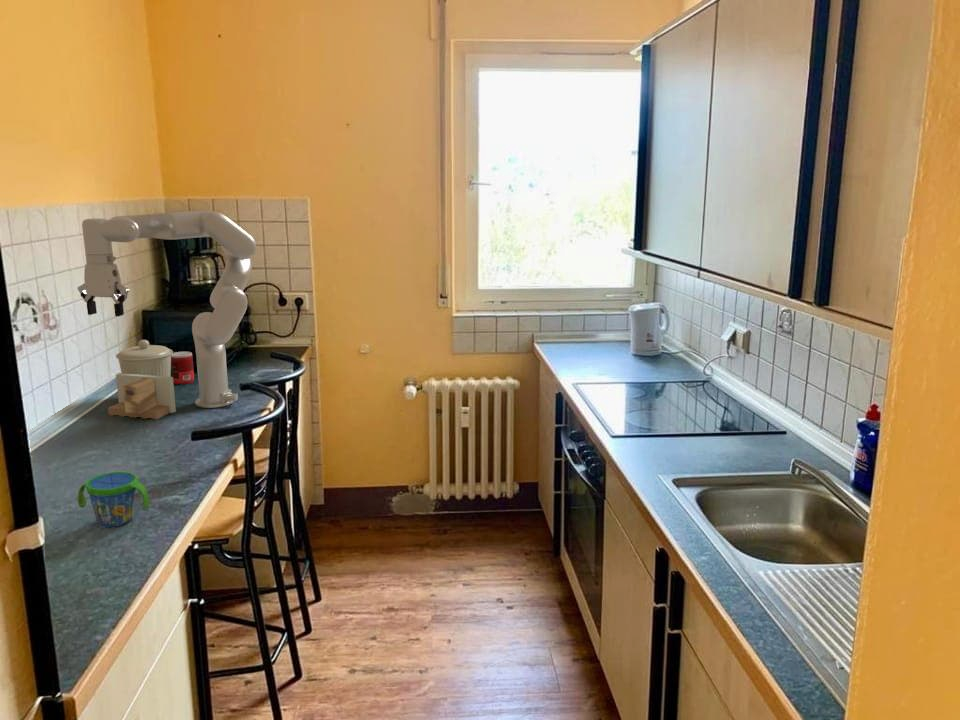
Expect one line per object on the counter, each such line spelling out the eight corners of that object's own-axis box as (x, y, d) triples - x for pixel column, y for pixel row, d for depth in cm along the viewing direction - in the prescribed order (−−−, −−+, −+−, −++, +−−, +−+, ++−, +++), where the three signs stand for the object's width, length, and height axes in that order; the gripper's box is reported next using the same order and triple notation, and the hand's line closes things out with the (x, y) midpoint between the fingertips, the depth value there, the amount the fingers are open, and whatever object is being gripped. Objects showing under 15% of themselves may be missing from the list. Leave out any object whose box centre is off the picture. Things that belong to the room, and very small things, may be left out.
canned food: (198, 379, 292) (195, 351, 289) (188, 385, 284) (185, 356, 282) (178, 378, 293) (176, 351, 290) (168, 384, 285) (166, 355, 282)
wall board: (176, 411, 253) (172, 377, 250) (160, 419, 245) (156, 383, 242) (123, 407, 258) (119, 373, 255) (106, 414, 250) (102, 379, 247)
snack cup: (160, 514, 179) (156, 473, 176) (133, 534, 169) (129, 492, 166) (99, 508, 181) (94, 469, 179) (70, 528, 171) (64, 486, 169)
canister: (186, 392, 275) (181, 335, 270) (160, 407, 258) (154, 346, 253) (138, 390, 277) (132, 333, 272) (110, 405, 260) (103, 345, 255)
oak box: (156, 405, 252) (154, 379, 250) (137, 414, 243) (135, 387, 240) (143, 404, 253) (140, 378, 251) (124, 412, 244) (121, 385, 242)
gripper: (132, 259, 234) (138, 314, 238) (84, 257, 238) (90, 311, 242) (116, 262, 227) (122, 318, 231) (66, 260, 231) (73, 315, 235)
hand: (105, 314), depth 236 cm, fingers open, 9 cm apart
